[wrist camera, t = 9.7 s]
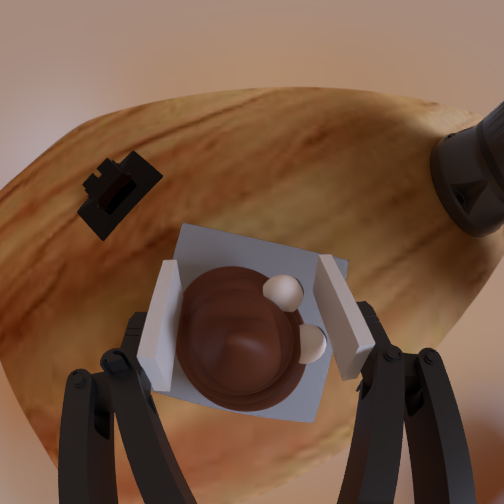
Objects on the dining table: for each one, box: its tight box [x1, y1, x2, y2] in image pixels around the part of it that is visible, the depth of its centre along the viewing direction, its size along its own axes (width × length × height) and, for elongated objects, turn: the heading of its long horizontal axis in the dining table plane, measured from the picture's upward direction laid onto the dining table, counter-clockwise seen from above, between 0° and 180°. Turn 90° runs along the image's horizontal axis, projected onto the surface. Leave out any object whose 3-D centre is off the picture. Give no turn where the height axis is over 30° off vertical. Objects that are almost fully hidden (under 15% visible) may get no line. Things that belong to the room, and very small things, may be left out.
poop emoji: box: [175, 266, 327, 412], centre depth 14 cm, size 10×8×9 cm
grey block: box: [151, 223, 349, 423], centre depth 23 cm, size 14×14×4 cm
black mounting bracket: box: [77, 151, 163, 241], centre depth 25 cm, size 12×7×5 cm, turn 140°
